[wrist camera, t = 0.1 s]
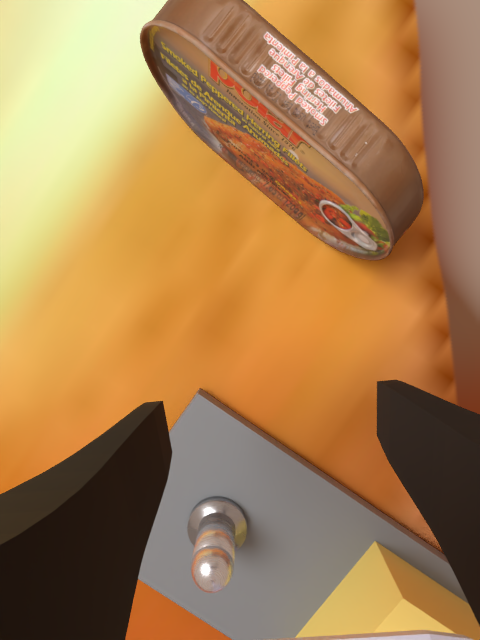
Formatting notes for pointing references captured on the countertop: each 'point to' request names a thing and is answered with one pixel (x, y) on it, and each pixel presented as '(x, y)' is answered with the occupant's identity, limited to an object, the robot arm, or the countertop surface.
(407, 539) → the keeper board
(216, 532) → the metal drawer knob
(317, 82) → the tin
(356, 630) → the link
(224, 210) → the countertop surface
